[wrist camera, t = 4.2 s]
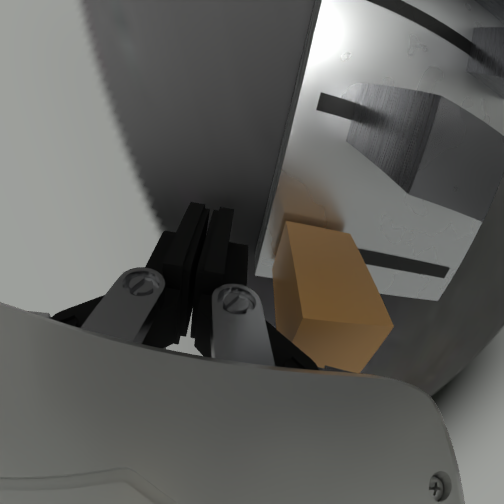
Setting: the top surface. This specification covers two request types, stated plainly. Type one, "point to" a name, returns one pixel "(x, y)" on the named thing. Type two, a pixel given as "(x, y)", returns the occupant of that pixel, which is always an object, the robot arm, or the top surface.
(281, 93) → the top surface
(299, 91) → the console
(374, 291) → the cap
